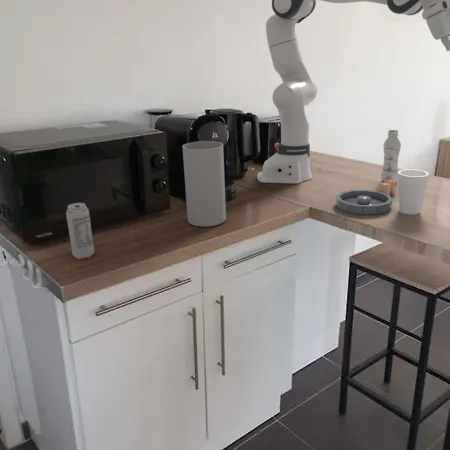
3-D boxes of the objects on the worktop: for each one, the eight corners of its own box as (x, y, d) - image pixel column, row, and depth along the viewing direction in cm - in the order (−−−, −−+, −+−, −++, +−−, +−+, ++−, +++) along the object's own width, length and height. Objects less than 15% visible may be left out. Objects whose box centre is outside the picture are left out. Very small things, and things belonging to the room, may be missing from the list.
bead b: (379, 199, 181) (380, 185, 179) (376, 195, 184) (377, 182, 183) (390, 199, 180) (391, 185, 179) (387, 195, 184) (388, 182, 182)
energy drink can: (91, 249, 148) (84, 200, 142) (97, 256, 143) (90, 206, 137) (70, 254, 145) (62, 204, 139) (76, 262, 140) (68, 210, 135)
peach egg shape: (384, 195, 184) (385, 182, 182) (382, 192, 188) (383, 179, 186) (396, 195, 184) (397, 182, 182) (393, 192, 188) (394, 178, 186)
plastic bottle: (395, 179, 203) (400, 129, 195) (399, 184, 196) (404, 132, 189) (379, 179, 203) (382, 129, 196) (382, 184, 197) (386, 132, 190)
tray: (341, 215, 166) (342, 206, 165) (332, 198, 183) (333, 190, 182) (397, 214, 166) (398, 205, 164) (383, 197, 182) (384, 189, 181)
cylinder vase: (233, 222, 165) (230, 145, 156) (199, 230, 159) (195, 151, 150) (213, 211, 175) (209, 139, 166) (181, 219, 168) (175, 144, 160)
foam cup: (425, 217, 162) (429, 177, 158) (394, 215, 165) (398, 176, 160) (423, 207, 171) (427, 169, 166) (394, 205, 173) (397, 168, 169)
